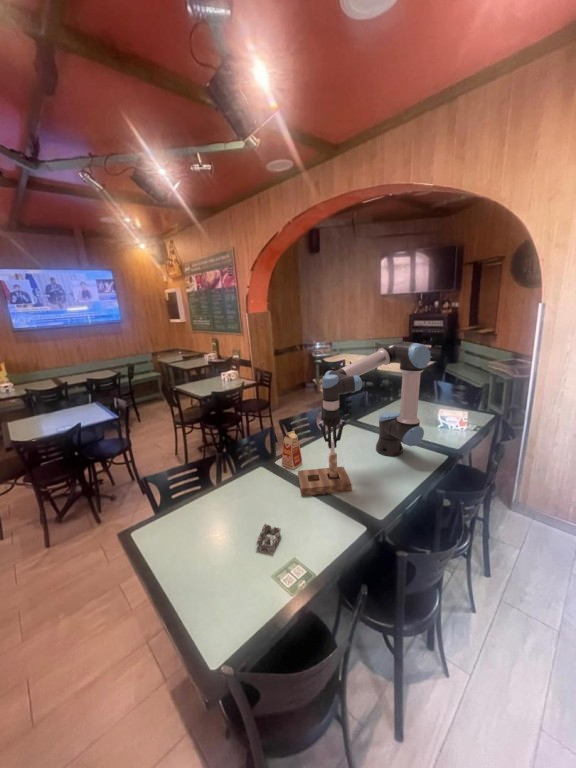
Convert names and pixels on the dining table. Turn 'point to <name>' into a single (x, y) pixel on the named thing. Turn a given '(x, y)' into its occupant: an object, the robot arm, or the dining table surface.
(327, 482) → the board
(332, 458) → the peg
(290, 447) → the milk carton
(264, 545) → the egg carton
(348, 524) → the dining table surface
